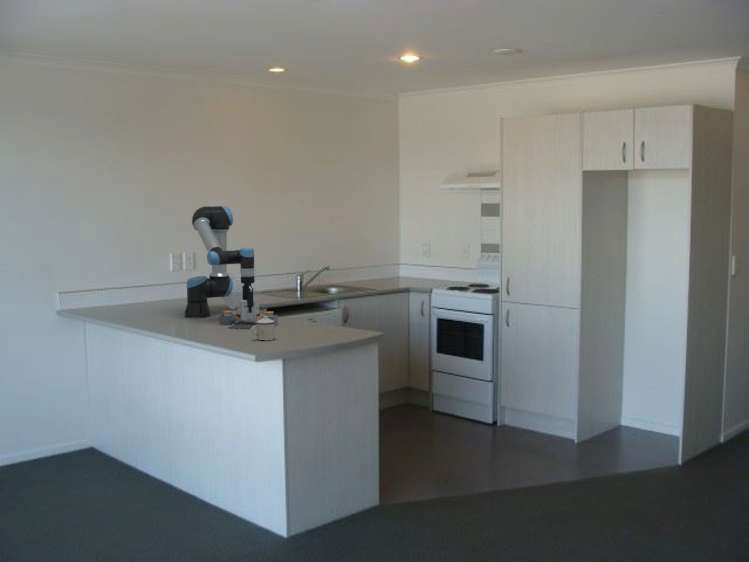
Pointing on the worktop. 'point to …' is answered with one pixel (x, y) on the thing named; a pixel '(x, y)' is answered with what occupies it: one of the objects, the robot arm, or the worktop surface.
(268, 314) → the plunger
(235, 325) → the mat
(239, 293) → the heart
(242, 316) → the small box
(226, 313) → the plunger
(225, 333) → the worktop surface
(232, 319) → the housing
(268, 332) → the teacup with lid
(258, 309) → the white red kettle
